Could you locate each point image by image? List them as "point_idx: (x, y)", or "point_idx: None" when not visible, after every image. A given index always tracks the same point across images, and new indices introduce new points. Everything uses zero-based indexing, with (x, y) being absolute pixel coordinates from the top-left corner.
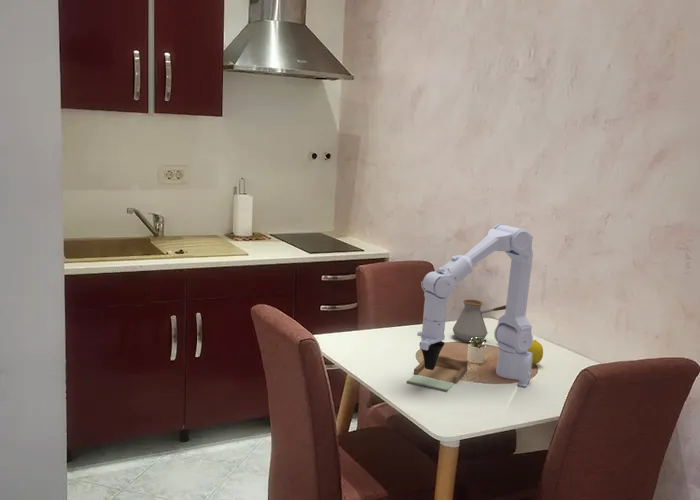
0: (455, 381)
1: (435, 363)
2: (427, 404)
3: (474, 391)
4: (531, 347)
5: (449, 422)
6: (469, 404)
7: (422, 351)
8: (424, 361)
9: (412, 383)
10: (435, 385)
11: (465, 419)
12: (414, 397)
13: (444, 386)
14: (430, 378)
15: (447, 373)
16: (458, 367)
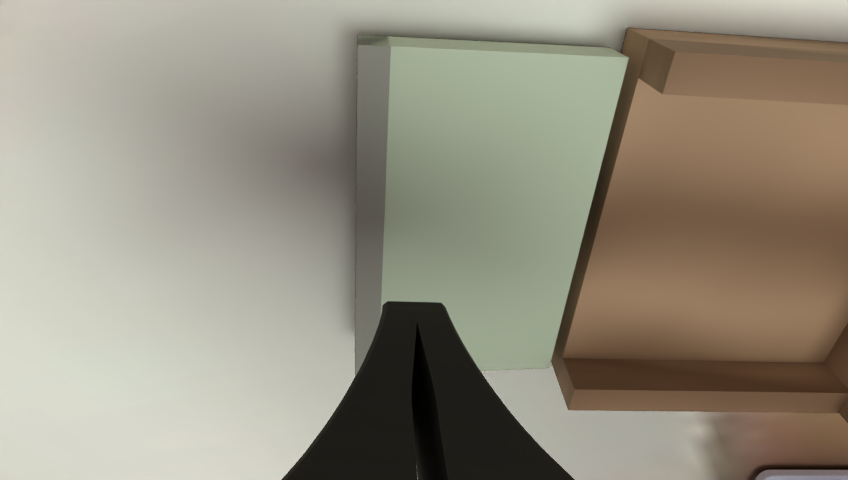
0: (563, 381)
1: (414, 436)
2: (157, 266)
3: (550, 431)
4: None
5: (7, 419)
6: None
7: (290, 472)
8: (370, 351)
9: (357, 108)
10: (414, 289)
11: (119, 465)
12: (214, 153)
13: None
14: (585, 209)
15: (751, 292)
16: None
